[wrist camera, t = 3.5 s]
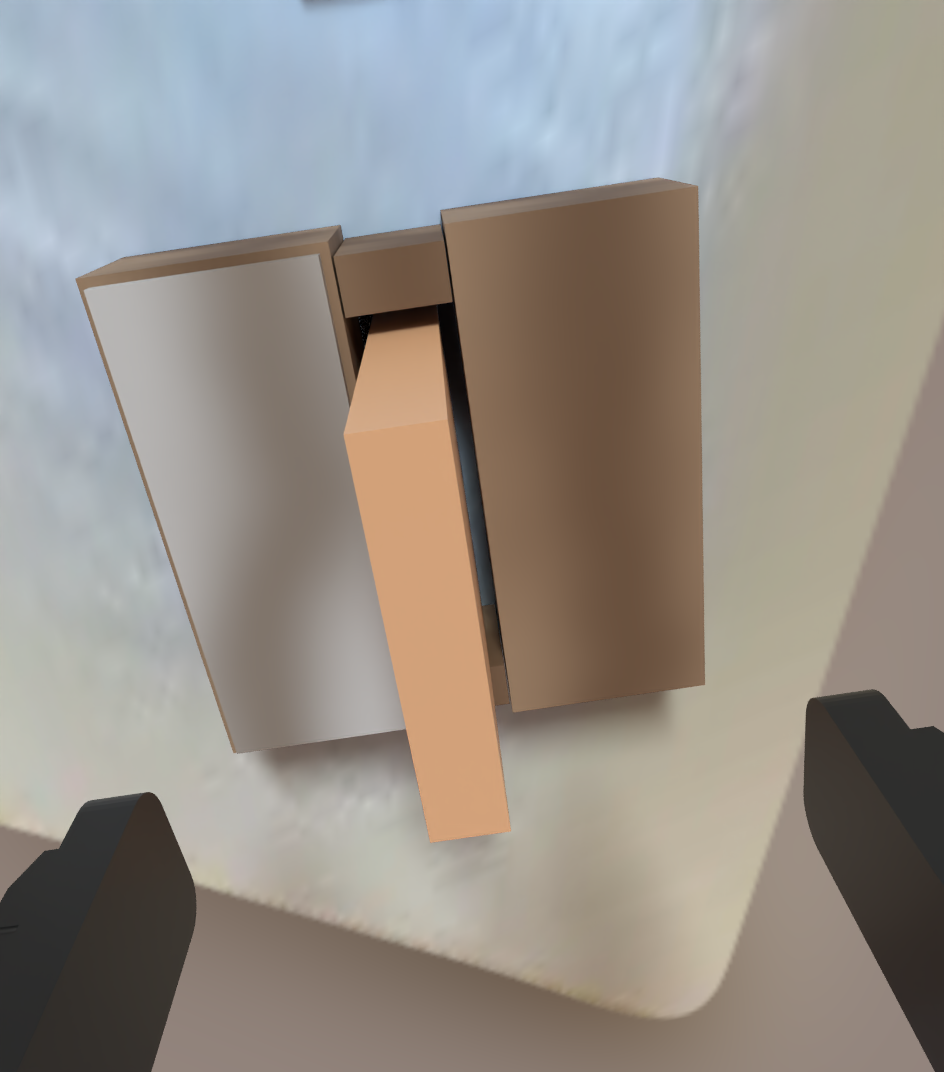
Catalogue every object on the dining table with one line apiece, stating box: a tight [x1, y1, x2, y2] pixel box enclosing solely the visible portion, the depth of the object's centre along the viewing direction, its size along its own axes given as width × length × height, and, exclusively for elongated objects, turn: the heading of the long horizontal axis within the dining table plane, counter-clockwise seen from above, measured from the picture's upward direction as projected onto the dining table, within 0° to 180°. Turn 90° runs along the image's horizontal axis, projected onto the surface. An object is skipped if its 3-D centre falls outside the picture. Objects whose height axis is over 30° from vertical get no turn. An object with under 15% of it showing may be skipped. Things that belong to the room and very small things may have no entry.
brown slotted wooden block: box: [76, 178, 705, 754], centre depth 20 cm, size 12×12×3 cm
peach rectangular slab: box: [343, 304, 511, 843], centre depth 18 cm, size 2×8×9 cm, turn 8°
